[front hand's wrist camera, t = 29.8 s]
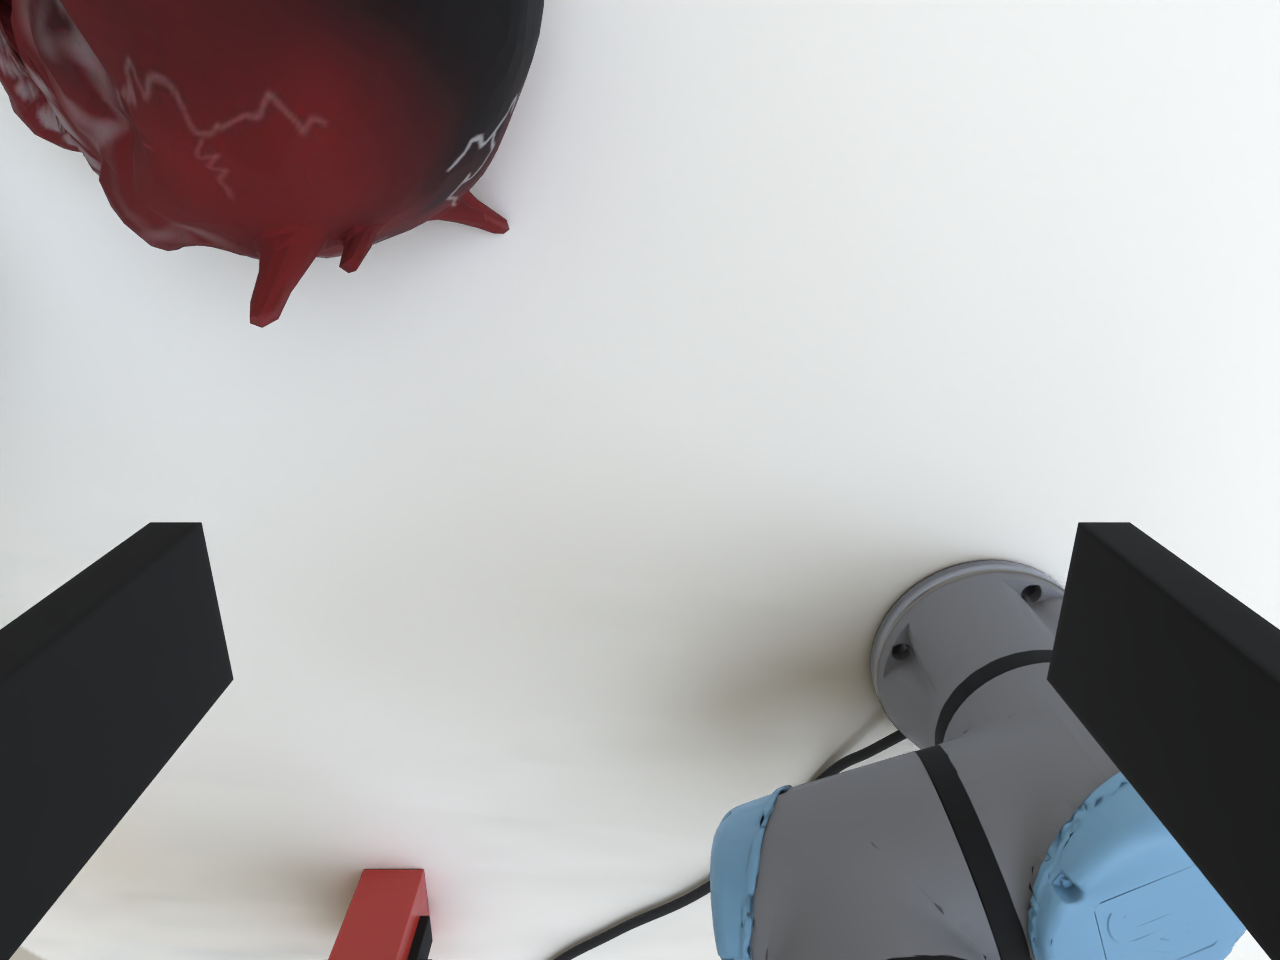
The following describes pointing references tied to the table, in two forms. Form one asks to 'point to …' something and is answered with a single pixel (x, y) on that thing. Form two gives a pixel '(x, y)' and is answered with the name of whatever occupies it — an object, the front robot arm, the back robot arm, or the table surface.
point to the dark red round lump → (275, 116)
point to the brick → (382, 916)
